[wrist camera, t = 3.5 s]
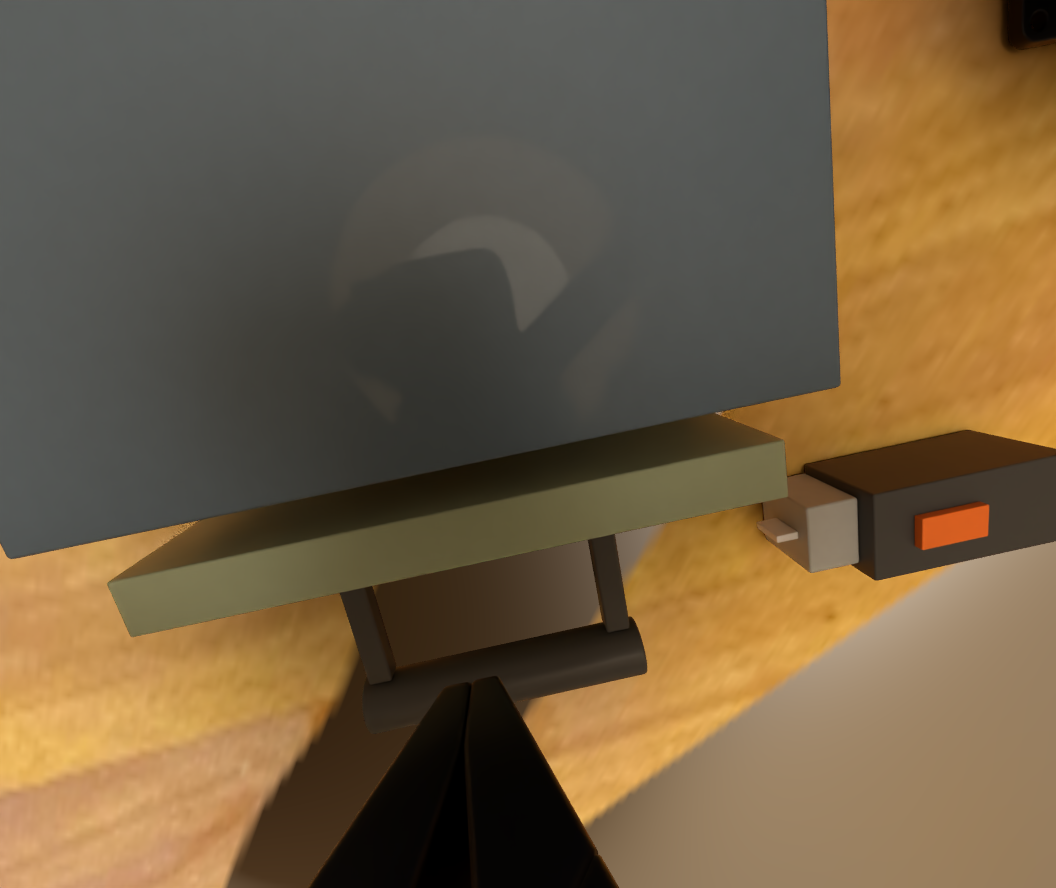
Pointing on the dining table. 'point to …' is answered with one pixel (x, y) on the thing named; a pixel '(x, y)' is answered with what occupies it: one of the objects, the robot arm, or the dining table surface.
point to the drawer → (461, 551)
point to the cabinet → (391, 240)
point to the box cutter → (917, 505)
